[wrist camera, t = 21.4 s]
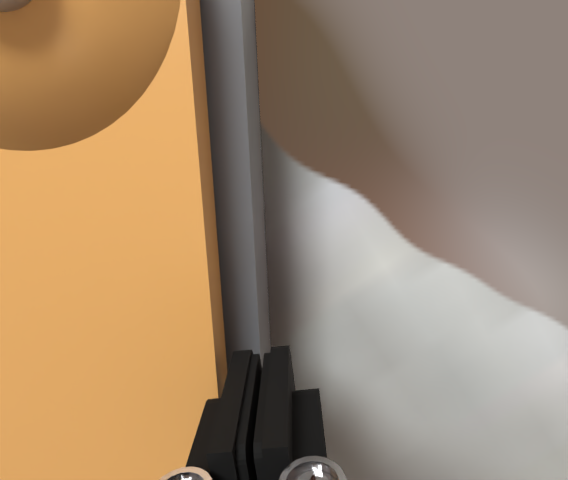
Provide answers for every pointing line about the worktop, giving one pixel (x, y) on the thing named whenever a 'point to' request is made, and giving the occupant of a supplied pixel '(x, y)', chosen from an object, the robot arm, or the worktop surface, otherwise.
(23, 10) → the cover
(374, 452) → the worktop surface
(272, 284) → the worktop surface
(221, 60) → the duct
